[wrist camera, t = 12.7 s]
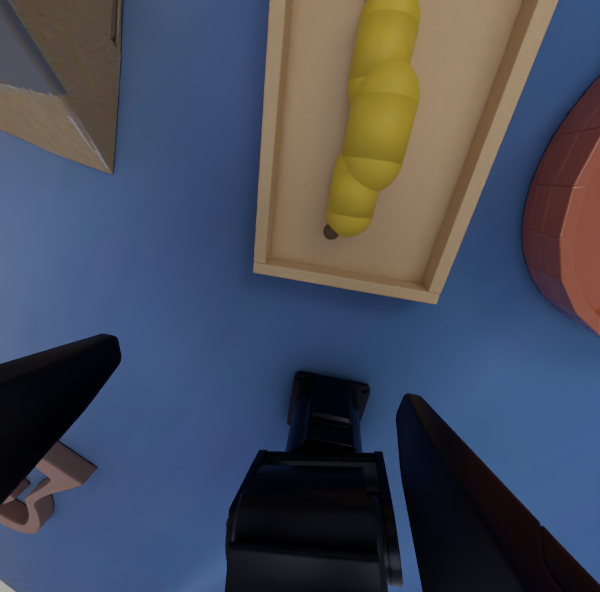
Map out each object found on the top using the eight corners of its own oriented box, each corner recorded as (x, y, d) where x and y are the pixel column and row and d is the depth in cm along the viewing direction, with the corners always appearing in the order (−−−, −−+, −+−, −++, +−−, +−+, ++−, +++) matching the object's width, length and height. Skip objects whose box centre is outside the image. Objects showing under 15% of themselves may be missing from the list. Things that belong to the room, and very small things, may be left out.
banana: (375, 242, 17) (383, 256, 14) (322, 233, 18) (319, 245, 15) (439, -5, 12) (471, -60, 9) (363, -12, 13) (371, -68, 10)
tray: (427, 292, 19) (436, 305, 17) (260, 264, 20) (252, 273, 18) (568, -83, 11) (612, -132, 9) (287, -106, 12) (278, -155, 10)
